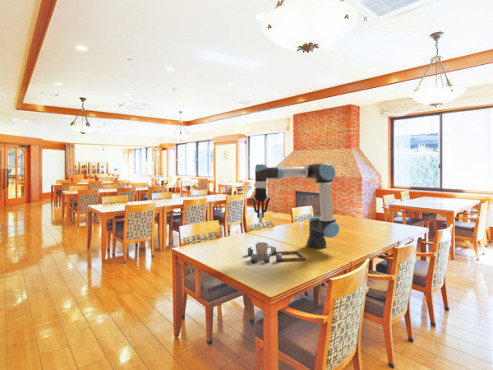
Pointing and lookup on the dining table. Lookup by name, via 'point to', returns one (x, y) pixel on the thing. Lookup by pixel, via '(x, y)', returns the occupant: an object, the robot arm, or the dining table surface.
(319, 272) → the dining table surface
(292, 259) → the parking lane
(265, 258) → the spacer field
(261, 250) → the mug
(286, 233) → the dining table surface
